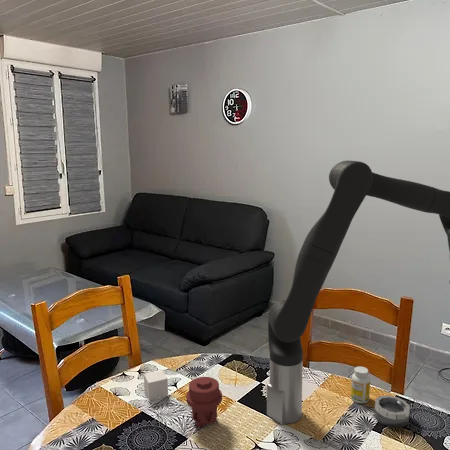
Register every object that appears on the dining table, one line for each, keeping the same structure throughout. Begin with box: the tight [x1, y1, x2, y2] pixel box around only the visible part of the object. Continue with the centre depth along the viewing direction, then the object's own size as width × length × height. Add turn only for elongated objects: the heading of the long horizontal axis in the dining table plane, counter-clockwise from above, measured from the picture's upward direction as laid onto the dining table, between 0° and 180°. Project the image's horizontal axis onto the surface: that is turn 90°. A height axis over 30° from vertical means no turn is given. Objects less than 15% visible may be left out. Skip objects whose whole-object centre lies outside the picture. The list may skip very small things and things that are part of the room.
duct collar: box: [374, 394, 411, 429], centre depth 119 cm, size 9×9×4 cm
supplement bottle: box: [350, 365, 371, 404], centre depth 128 cm, size 5×5×10 cm
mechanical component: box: [185, 376, 223, 428], centre depth 118 cm, size 12×10×10 cm
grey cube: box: [143, 369, 169, 401], centre depth 132 cm, size 6×6×6 cm
